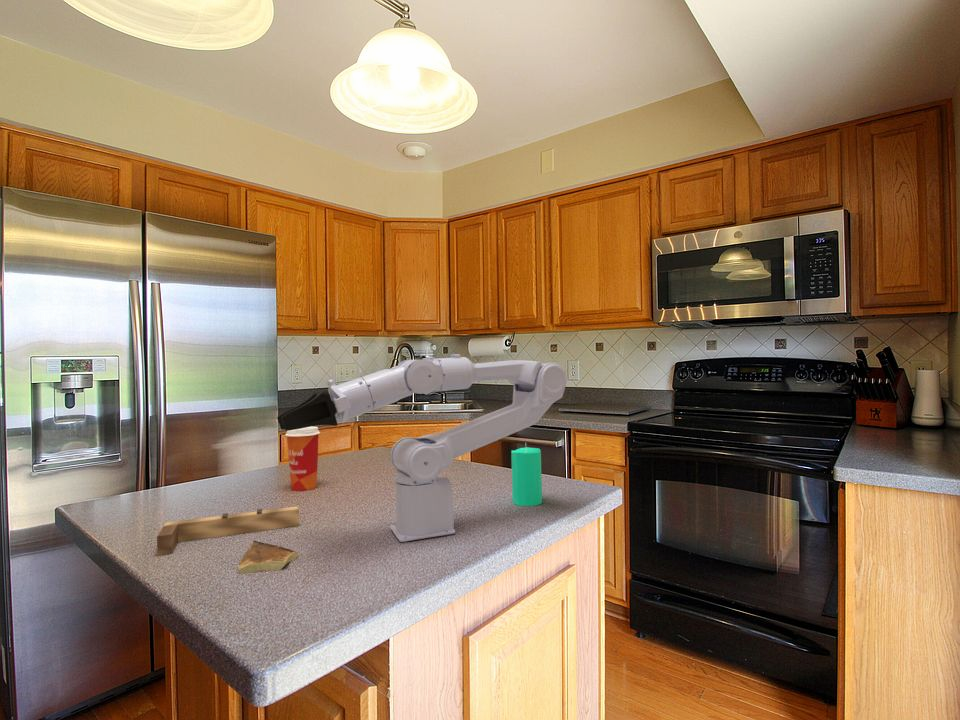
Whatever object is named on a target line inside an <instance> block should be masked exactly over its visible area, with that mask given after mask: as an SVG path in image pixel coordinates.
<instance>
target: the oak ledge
mask: <svg viewBox="0 0 960 720" xmlns="http://www.w3.org/2000/svg"><path fill="white" fill-rule="evenodd" d="M299 510H300V509H299V506H298V505H297V506H290V507H280V508H273V509H272V508H271V509H264V510H263V509H262V508H259V509H256V511H248V512H241V513H239V512H238V513H233V514H232V513H231V514H229V513H228V512H227V513H226V512H225V513H222V515H217V516H215V515H214V516H209V517H208V516H207V517H199V518H191V519H185V520H183V519H182V520H177V521H176V520H175V521H168V522H165V523H164V525H163V527H162V528H161V530H160V531H159V532H158V534H157V535H156V547H157V548H156V550H157V553H156V554H157V556H158V557H159V556H163V555H164V556H165V555H166V556H167V555H171V554H173V553H174V551H175V549H176V547H177V546H178V543H183V542H189V541H197V540H204V539H205V540H206V539H211V538H212V539H213V538H218V537H226V536H233V535H240V534H241V535H242V534H248V533H255V532H256V533H257V532H263V531H271V530H276V529H285V528H292V527H299V526H300V515H299V514H300V512H299Z"/></svg>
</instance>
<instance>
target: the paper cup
mask: <svg viewBox="0 0 960 720" xmlns="http://www.w3.org/2000/svg"><path fill="white" fill-rule="evenodd" d="M319 434H321V432H320V430H319V427H318V426H311V427H306V428H301V429H296V430H288V431H286V433H285V435H284V436H285V437H286V442H287V443H286V444H287V455H288V465H289V466H288V467H289V477H290V478H289V479H290V486H291V487H290V488H291V490H292V491H295V492H305V491H310V490H314V489H316V488H317V485H318V465H319V464H318V463H319V462H318V461H319Z"/></svg>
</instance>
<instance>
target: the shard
mask: <svg viewBox="0 0 960 720" xmlns="http://www.w3.org/2000/svg"><path fill="white" fill-rule="evenodd" d="M298 554H299V553H298V551H296V550H292V549H290V548H285V547H283V546H279V545H275V544H272V543H271V544H270V543H265V542H262V541H257V540H253V541H252V543H251V544H250V547H249V548H248V549H247V550H246V552H245V554H243V556H242V558H241V559H240V562H239V564H238V567H237V568H238V569H237V571H238V573H239V574H240V575H241V574H250V573H257V572H270V571H272V572H273V571H281V570H282V569H283V568H284V567H285V566H286V564H288V563H289V562H292V561H293V560H296V559H297V557H298Z"/></svg>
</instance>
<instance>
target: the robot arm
mask: <svg viewBox="0 0 960 720" xmlns="http://www.w3.org/2000/svg"><path fill="white" fill-rule="evenodd" d="M567 378H568V377H567V373H566V371H565V369H564V367H563V366H562V365H561V364H559V363H557V362H553V361H552V362H545V363H544V361H537V360H536V361H535V360H524V359H518V360H517V359H516V360H513V359H510V360H501V361H500V360H499V361H490V362H479V363H477V362H476V363H473V362H472V360H470V359H469V358H468V357H465V356H461V354H460V353H458V354H457V353H455V354H450V357H442V358H439V357H438V358H435V357H434V356H429V355H428V356H425V358H423V359H408V360H406V359H405V360H402V361H400V363H398V365H396V366H393V367H391V368H389V369H388V368H384V369H382V370H379V371H376V372H372V373H369V374H367V375H363V376H361V377H358V378H354V379H352V380H349V381H345V382H342V383H339V384H337V385H336V384H335V382H334V379H328V380H327V381H326V384H327V387H328V389H323V390H321V391H320V393H317V392H314V393H312V394H311V396H309V397H308V398H307V399H306V400H305V401H303V402H302V403H300V404H298V405H297V406H295V407H293V408H291V409H290V410H289V409H288V410H286V411H285V412H284V413H282V414H280V415H278V416H277V417H276V418H277V421H278V424H279V427H280V430H285V432H287V431H288V430H296V429H301V428H306V427H318V426H335V427H337V426H338V422H340V423H341V424H343V423H345V422H348V420H350V419H352V418H353V419H354V418H356V417H359V416H361V415H364V414H366V413H369V412H371V411H374V410H377V409H380V408H383V407H385V406H388V405H391V404H393V403H396V402H398V401H399V400H402V399H405V398H407V397H410V396H413V394H419V395H422V394H424V395H429V394H431V393H433V392H436V393H437V392H444V391H445V392H446V391H456V390H467V389H469V388H470V387H471V386H472V385H473V383H474V382H477V381H479V382H480V381H497V380H498V381H499V380H507V381H508V383H510V384H512V385H513V389H512V390H513V393H512V403H511V404H509V405H506V406H505V407H501V408H500V409H497V410H495V411H492V412H491V411H490V412H489V413H486V414H484V415H481V416H479V417H477V418H474V419H471V420H469V421H466V422H464V423H462V424H459V425H456V426H454V427H451V428H449V429H447V430H443V431H441V432H437V433H431V434H424V435H421V436H420V437H419V436H418V437H411V436H408V437H407V436H406V437H403V438H400V439H399V440H397V441H396V442H395V443H394V444H393V446H392V448H391V451H390V462H391V464H392V466H393V468H394V469H395V470H396V475H395V477H394V486H395V487H394V492H395V494H394V496H395V524H391V525H389V528H390V530H391V531H392V533H393V534H394V535H395V537H396V539H397V540H398V542H400V543H403V542H404V543H405V542H409V541H415V540H422V539H428V538H434V537H435V538H436V537H440V536H447V535H453V534H455V533H456V530H455V526H454V525H455V524H454V523H455V521H454V517H455V516H454V494H453V492H454V491H453V486H452V483H451V481H450V479H449V478H448V477H446V476H440V477H438V476H439V475H440V473H441V472H442V471H444V470H446V469H447V468H449V467H451V466H453V463H454V460H455V459H456V458H459V457H461V456H464V455H466V454H468V453H471V452H474V451H475V450H477V449H480V448H482V447H485V446H487V445H489V444H491V443H494V442H496V441H499V440H501V439H503V438H506V437H508V436H510V435H514V434H515V433H517V432H519V431H522V430H524V429H527V428H529V427H531V426H533V425H535V424H537V423H538V422H539V421H540V419H541V418H542V417H543V416H544V415H545V414H546V412H547V411H548V410H549V408H551V406H552V405H553V404H554V403H555V402H558V400H560V399H562V398H563V396H564V393H565V389H566V386H567V380H568V379H567Z"/></svg>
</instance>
